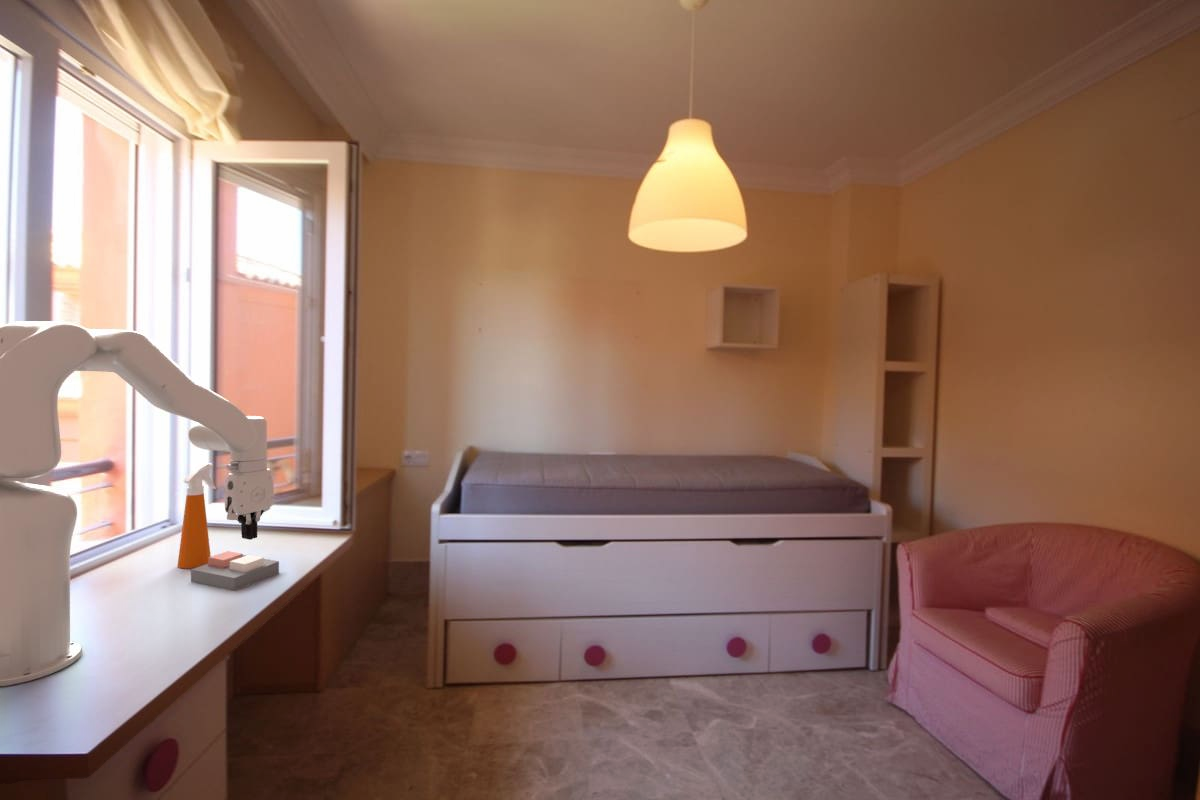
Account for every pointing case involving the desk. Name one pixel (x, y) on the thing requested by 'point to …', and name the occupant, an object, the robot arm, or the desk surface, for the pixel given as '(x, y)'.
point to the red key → (223, 559)
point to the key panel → (232, 575)
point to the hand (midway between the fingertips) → (249, 537)
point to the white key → (246, 563)
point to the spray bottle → (195, 521)
